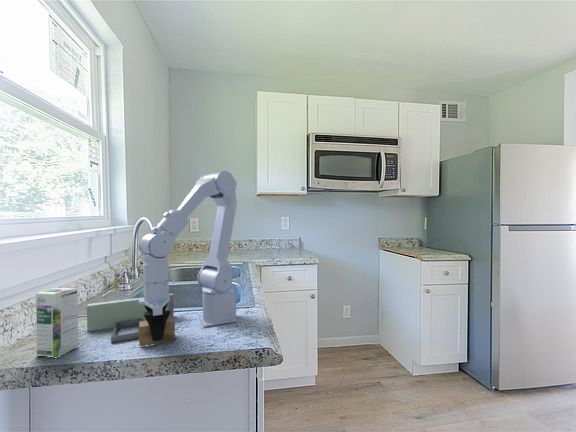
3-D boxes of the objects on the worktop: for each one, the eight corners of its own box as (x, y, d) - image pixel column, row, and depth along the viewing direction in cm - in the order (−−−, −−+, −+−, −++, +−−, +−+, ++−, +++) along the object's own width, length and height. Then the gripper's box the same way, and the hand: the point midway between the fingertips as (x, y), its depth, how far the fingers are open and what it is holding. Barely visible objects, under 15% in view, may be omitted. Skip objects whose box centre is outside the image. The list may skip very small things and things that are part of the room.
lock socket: (141, 323, 85) (141, 318, 85) (141, 337, 76) (141, 332, 76) (115, 328, 82) (115, 322, 82) (111, 343, 73) (111, 337, 73)
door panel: (173, 316, 92) (172, 293, 92) (173, 318, 89) (173, 294, 89) (88, 328, 82) (88, 303, 82) (87, 331, 80) (86, 305, 80)
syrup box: (34, 357, 66) (33, 293, 66) (59, 345, 72) (58, 286, 72) (56, 359, 65) (55, 293, 65) (79, 347, 71) (78, 287, 71)
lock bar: (173, 335, 77) (173, 316, 77) (175, 341, 74) (174, 321, 74) (139, 341, 74) (139, 321, 74) (139, 347, 70) (139, 327, 70)
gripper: (139, 277, 79) (140, 327, 79) (137, 289, 65) (138, 350, 66) (167, 274, 82) (168, 323, 82) (171, 286, 69) (172, 344, 69)
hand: (157, 335), depth 74 cm, fingers open, 6 cm apart
